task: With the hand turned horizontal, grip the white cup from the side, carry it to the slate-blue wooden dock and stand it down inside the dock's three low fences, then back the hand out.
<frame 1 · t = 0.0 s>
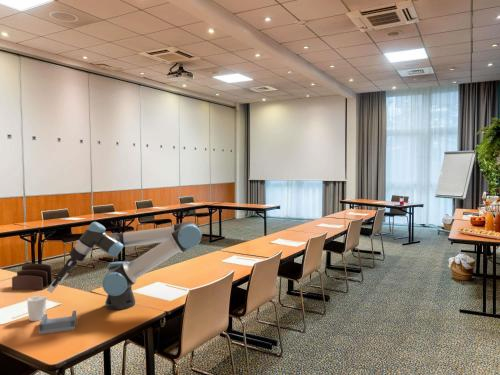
hand: (53, 287, 184), 15 cm above the table, tool tilted 35°, fingers open, 13 cm apart
white cup: (37, 319, 185), on the table
letter holder: (32, 288, 236), on the table
dock: (58, 326, 176), on the table
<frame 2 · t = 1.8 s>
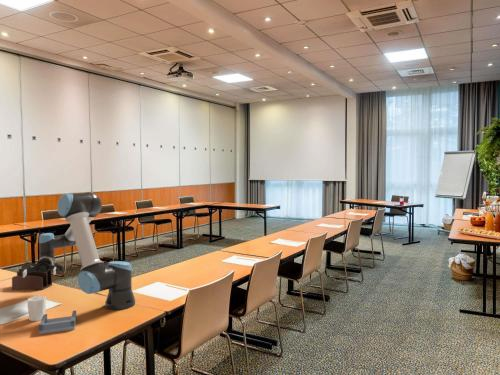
hand: (39, 273, 193), 20 cm above the table, tool horizontal, fingers open, 13 cm apart
nothing on the table moved.
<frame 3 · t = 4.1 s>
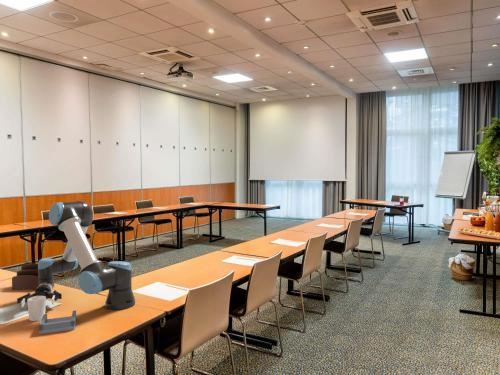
hand: (37, 303, 189), 6 cm above the table, tool horizontal, fingers open, 13 cm apart
nothing on the table moved.
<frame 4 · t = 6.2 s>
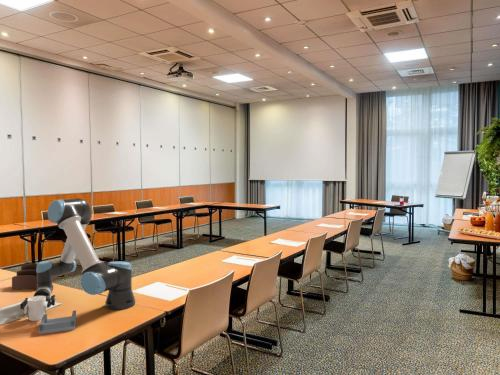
hand: (35, 309, 180), 6 cm above the table, tool horizontal, fingers closed on white cup, 8 cm apart
white cup: (37, 319, 185), on the table, touching gripper
everything else where it was.
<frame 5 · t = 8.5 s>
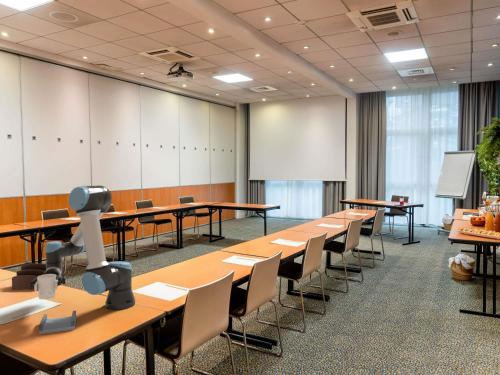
hand: (45, 287, 174), 18 cm above the table, tool horizontal, fingers closed on white cup, 8 cm apart
white cup: (47, 297, 179), point 12 cm above the table, touching gripper
everything else where it was.
when the fingers open (9 cm above the table, at t = 11.0 s): white cup drops 2 cm, resting on dock.
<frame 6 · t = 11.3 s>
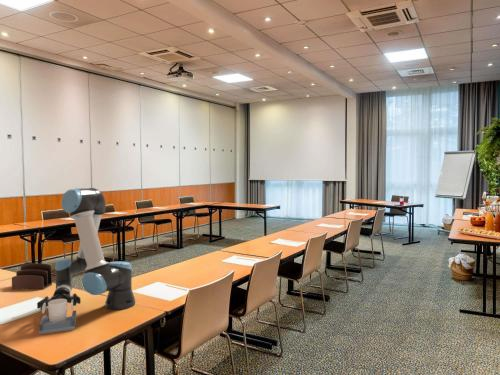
hand: (57, 308, 171), 10 cm above the table, tool horizontal, fingers open, 11 cm apart
white cup: (58, 323, 175), point 1 cm above the table, touching dock
everything else where it was.
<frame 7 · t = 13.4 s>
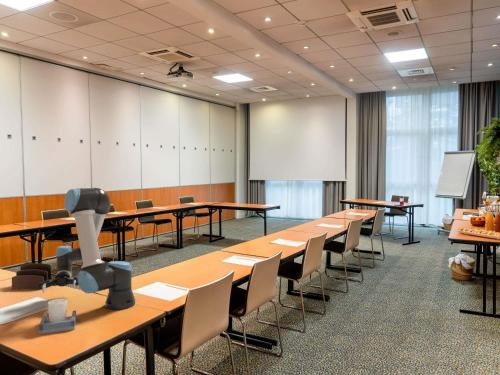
hand: (59, 287, 186), 15 cm above the table, tool horizontal, fingers open, 13 cm apart
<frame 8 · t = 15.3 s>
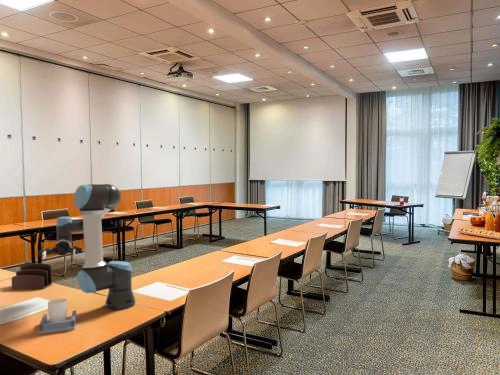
hand: (58, 255, 188), 30 cm above the table, tool horizontal, fingers open, 13 cm apart
at the end: white cup inside the target area on the dock (0.3 cm from its centre), point 1.3 cm above the dock's base; white cup tilted 0°; the gripper is holding nothing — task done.
